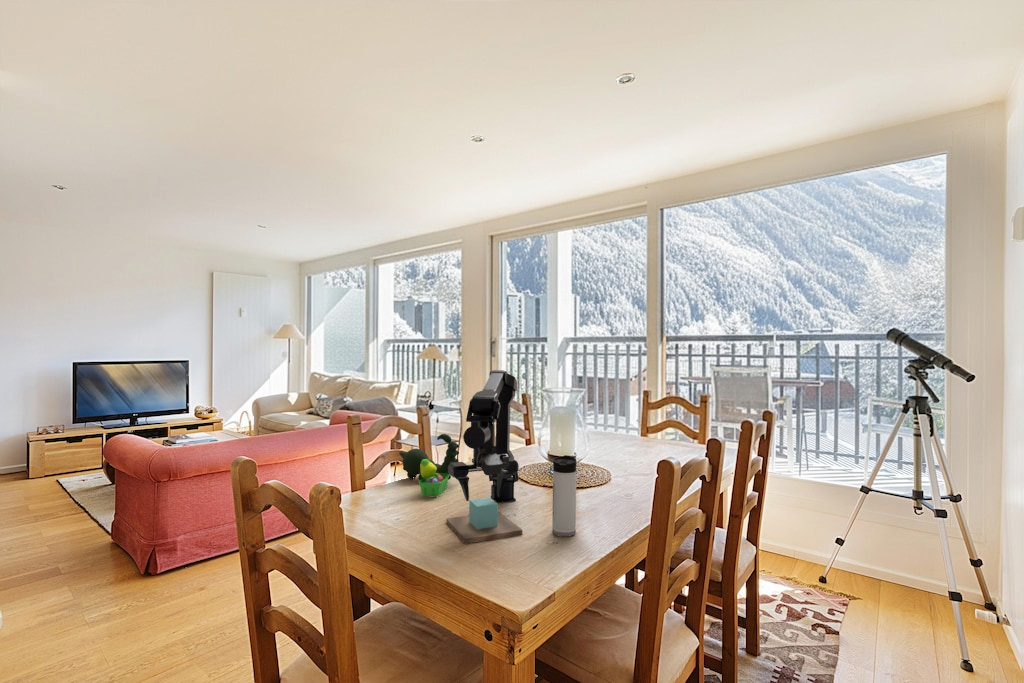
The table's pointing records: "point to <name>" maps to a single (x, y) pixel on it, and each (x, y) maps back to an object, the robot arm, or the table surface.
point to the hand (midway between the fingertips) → (483, 498)
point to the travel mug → (564, 496)
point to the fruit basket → (431, 479)
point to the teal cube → (483, 513)
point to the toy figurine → (417, 455)
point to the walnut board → (473, 535)
